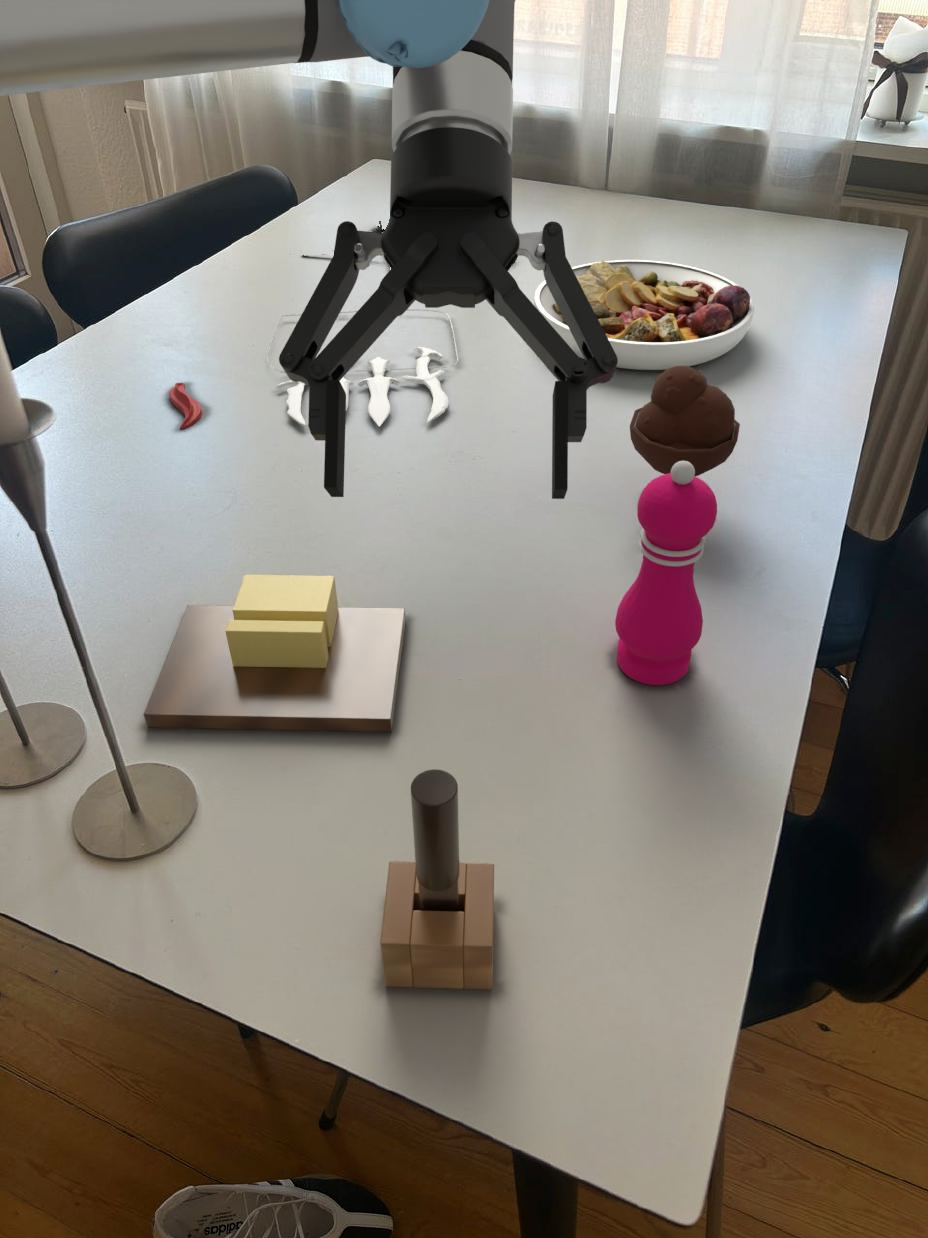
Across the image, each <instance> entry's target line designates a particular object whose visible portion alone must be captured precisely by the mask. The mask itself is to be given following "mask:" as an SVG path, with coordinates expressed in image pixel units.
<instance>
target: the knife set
mask: <svg viewBox="0 0 928 1238" xmlns="http://www.w3.org/2000/svg"><path fill="white" fill-rule="evenodd" d="M357 311H358V310H345V311H341V312H340V313H339V314H342V313H343V314H344V313H346V314H348V313H356V312H357ZM407 311H414V312H415V311H416V312H419V311H420V312H421V311H422V312H434V313H435V312H436V313H441V314H444V315H446V316H447V318H448V320H449V322H450V326H451V332H452V336H453V342H454V348H455V349H454V350H455V355H456V362H455V363H454V364H452V365H450V366H449V367H455V366H456V365H457V364H458V362H459V354H458V348H457V343H456V336H455V331H454V326H453V322H452V319H451V317H450V316H449V314H448V313H447V312H445V311H442V310H434V309H423V308H422V309H419V308H418V309H415V308H413V309H410V308H408V309H407V310H406V311H405V312H407ZM301 315H302V313H295V314H282V315H281V317H280V319H279V321H278V323H277V326H276V329H275V331H274V333H273V336H272V339H271V341H270V344H269V346H268V347H269V348H268V351H267V353H266V354H267V355H266V359H267V360H266V361H267V363H268V365H269V366H270V367H271V368H273V370H276V371H277V372H279V373H281V374H286V372H285V371H284V370H279V369H276V368H275V367H273V366H272V365H271V363H270V361H269V354H270V349H271V346H272V343H273V341H274V338H275V335H276V334H277V333H276V332H277V330H278V327H279V325H280V323H281V320H282V318H283V317H293V316H301ZM413 351H414V352H416V353H418V354H420V357H418V358H417V359H416V360H415V361H416V366H415V367H410V368H408V367H407V368H406V367H405V368H387V367H388V366H389V365H390V364H391V363H390V362H391V360H390V359H384V358H383V357H381V356H376V357H375V358H374V359H372V360H370V359H367V361H366V363H367V364H368V366H369V367H371V369H354V370H351V369H350V370H349V371H348V372H347V373H356V372H358V373H359V372H360V373H361V372H372V374H373V377H367V378H364V379H361V380H360V381H358V384H357V385H358V387H360V388H361V387H363V386H366V385H367V387H368V390H369V392H370V399H369V401H368V405H367V413H368V414H369V417H370V418H371V420H373V421H374V423H375V424H376V425H377V426H378V427H381V426H382V425H383V423H384V422H385V421H386V419H387V418H388V417H389V415H390V413H391V404H390V401H389V397H388V393H389V390H390V387H391V385H392V384H394V385H396V386H399V385H400V383H401V382H400V381H399V380H398V379H396V378H395V377H391V376H384V375H385V372H386V371H408V370H409V371H410V370H415V371H416V376H412V375H403V376H401V377H399V379H400V380H403V381H405V382H408V383H413V384H419V385H425V386H426V387H427V388H428V389H429V391H430V394H431V396H432V404H431V408H430V413H429V414H428V416H427V421H426V423H429V422H431V421H433V420H435V419H436V418H438V417H439V416H441V415H443V414H444V413H445V412H446V410H447V408H448V407H449V397H448V395H447V394H446V392H445V391H444V390H443V388H442V385H441V384H442V383H441V382H440V380H439V379H440V378H442V376H444V374H445V371H444V370H443V369H447V368H448V366H429V364H430V362H431V360H432V359H431V358H435V359H437V360H441V359H443V358H444V356H443V354H442V353H440V352H439V351H437V350H434V349H431V348H428V347H424V346H416V347H414V348H413ZM429 369H439V370H437V371H436V372H432V373H430V371H429ZM340 383H341V385H342V387H343V389H344V391H345V393H346V411H347V410H348V407H349V401H350V400H349V393H350V387H352V386H353V385H354V382H353V381H351V380H349V379H347V378H345V376H344V377H343V378H342V379H341V380H340ZM292 385H294V386H292ZM306 385H307V384H305V383H302V382H295V381H292V380H291V379H290V380H288V381H284V382H280V383H278V384H277V385H276V386H275V387H276V388H277V389H281V388H284V387H286V386H291V387H289V388H286V391H287V394H288V397H287V399H286V400H285V403H286V405H287V407H288V410H287V412H286V414H287V415H288V416H289V417H290V418H291V419H293V420H294V421H296V422H297V423H298V424H299V425H301V426H303V427H306V426H307V423H306V421H305V418H304V416H303V415H302V399H303V397H302V396H303V393H304V390H305V386H306Z"/></svg>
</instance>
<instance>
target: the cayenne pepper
mask: <svg viewBox="0 0 928 1238" xmlns="http://www.w3.org/2000/svg"><path fill="white" fill-rule="evenodd" d="M185 387H186V384H185V383H183V382H176V383H175V384H174V386H172V387H171V389H170V390H169V391H168V395H169V400H170V402H171V403H172V405H173V406H174V407H175V408H177V409H178V410H179V411H180V412H181V413H182V414H183V415H184V420H183V421H182V423H181V425H180V427H179V430H184V429H187V428H189V427H190V426H192V425H193V424H195V423H196V422H198V421H200V419H201V418H202V416H203V414H204V411H203V409H202V405H201V404H200V402H199V401H197V400H196V399H194V398H193V397H191V396H190V394H188V393H187V391H186V390H185Z"/></svg>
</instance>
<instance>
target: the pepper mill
mask: <svg viewBox="0 0 928 1238" xmlns="http://www.w3.org/2000/svg"><path fill="white" fill-rule="evenodd" d="M716 498H717V497H716V495H715V493H714V491H713V489H712V488H711V487H710V486H709V484H708V483H706V481H704V480H703V479H701V478H699V477H698V476H695V469H694V466H693V465H692V464H691V463H690V462H688V461H679V462H677V463H675V464H674V465H673V467H672V469H671V473H668V474H660V475H659V476H657V477H655V478H653V479H652V480H651V481H649V482H648V483H647V484H646V485H645V486H644V489H643V490H642V491H641V493H640V495H639V498H638V501H637V505H636V506H637V508H636V514H637V515H636V516H637V520H638V523H639V524H640V527H641V529H640V533H639V537H640V538H639V540H638V547H639V550H640V552H641V554H642V562H641V566H640V570H639V572H638V574H637V577H636V578H635V579H634V582H633V583H632V585H631V586H630V587H629V588H628V589H627V591H626V592H625V593H624V594H623V597H622V598H621V600H620V602H619V604H618V607H617V611H616V615H615V619H614V625H615V626H614V627H615V631H616V634H617V636H618V642H617V650H616V661H617V662H616V663H617V665H618V667H619V669H620V670H621V671H622V672H623V673H624V674H625V675H626V676H627V677H628V678H630V679H632V680H634V681H635V682H637V683H641V684H644V685H648V686H666V685H670V684H673V683H676V682H678V681H680V680H681V679H682V678H683V677H685V675H686V674H687V673H688V670H689V668H690V663H691V658H692V650H693V649H694V648H695V646H697V644H698V643H699V641H700V640H701V637H702V634H703V633H702V632H703V625H704V624H703V623H704V620H703V619H704V618H703V610H702V606H701V603H700V600H699V596H698V594H697V591H696V586H695V579H694V572H695V571H694V570H695V563H696V562H697V561H698V560H700V559H701V557H702V556H703V554H704V547H705V543H706V536H707V535H708V533H710V531H711V530H712V529H713V527H714V525H715V523H716V520H717V514H718V502H717V499H716Z"/></svg>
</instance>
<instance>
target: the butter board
mask: <svg viewBox="0 0 928 1238" xmlns="http://www.w3.org/2000/svg"><path fill="white" fill-rule="evenodd" d="M233 607H234V605H220V604H219V605H217V604H216V605H215V604H213V605H212V604H206V605H205V604H187V605H186V608H185V610H184V613H183V615H182V617H181V620H180V622H179V625H178V628H177V630H176V632H175V635H174V637H173V640H172V641H171V646H170V648H169V650H168V653H167V655H166V657H165V660H164V662H163V665H162V668H161V669H160V673H159V675H158V678H157V680H156V682H155V685H154V688H153V689H152V692H151V695H150V698H149V700H148V702H147V705H146V708H145V709H144V712H143V718H144V720H145V725H146V727H147V728H164V729H165V728H166V729H167V728H169V729H170V728H171V729H178V728H179V729H181V728H182V729H219V730H220V729H221V730H222V729H224V730H271V731H273V730H274V731H318V732H319V731H325V732H327V731H328V732H329V731H330V732H370V733H371V732H375V733H376V732H377V733H380V732H381V733H392V732H393V725H394V716H395V708H396V702H397V701H396V700H397V692H398V686H399V676H400V669H401V661H402V655H403V654H402V652H403V646H404V638H405V630H406V622H407V620H406V609H405V608H404V607H350V606H348V607H345V606H344V607H342V606H340V607H339V606H338V615H337V620H336V624H335V629H334V634H333V639H332V643H331V647H328V655H329V657H328V662H327V667H326V668H299V667H242V666H233V664H232V659H231V655H230V650H229V646H228V641H227V637H226V632H225V631H226V628H227V625H228V622H229V620H234V616H233V611H232V610H233Z"/></svg>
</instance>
